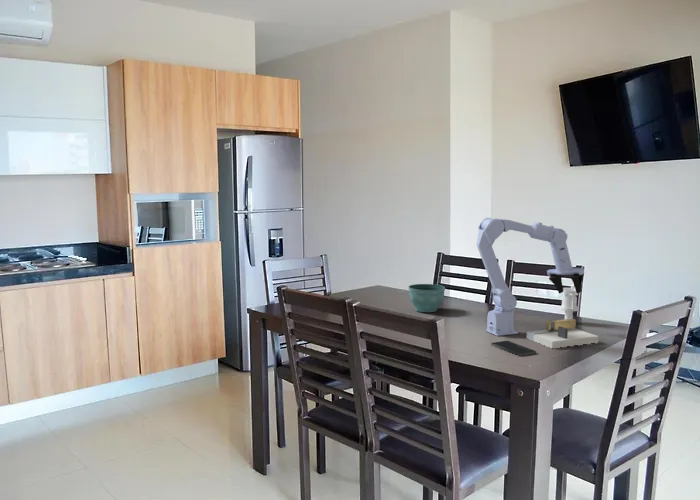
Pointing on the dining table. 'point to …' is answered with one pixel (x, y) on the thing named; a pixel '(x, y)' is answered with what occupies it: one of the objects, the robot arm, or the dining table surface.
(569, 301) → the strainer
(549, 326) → the bar
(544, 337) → the white panel
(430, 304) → the flower pot
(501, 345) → the phone
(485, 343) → the dining table surface
